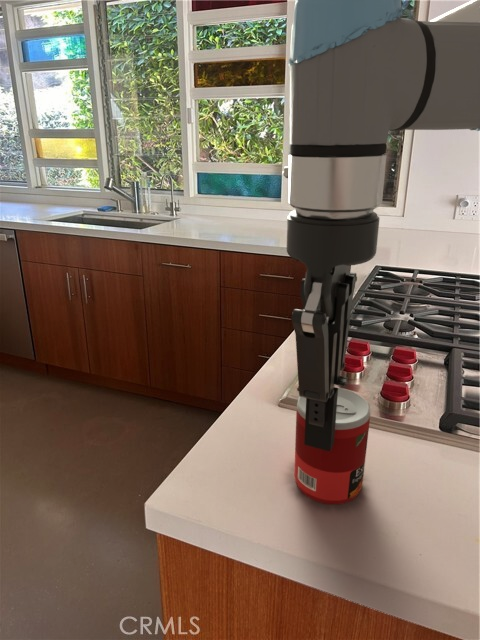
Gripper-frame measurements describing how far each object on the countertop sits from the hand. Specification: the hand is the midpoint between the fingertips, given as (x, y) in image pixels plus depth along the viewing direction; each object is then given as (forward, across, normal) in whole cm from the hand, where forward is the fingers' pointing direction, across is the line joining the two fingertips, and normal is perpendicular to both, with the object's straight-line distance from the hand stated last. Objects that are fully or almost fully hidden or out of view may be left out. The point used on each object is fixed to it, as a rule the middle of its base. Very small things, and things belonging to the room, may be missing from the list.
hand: (319, 443), depth 47 cm
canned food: (+9, -5, 0) cm, 11 cm away
